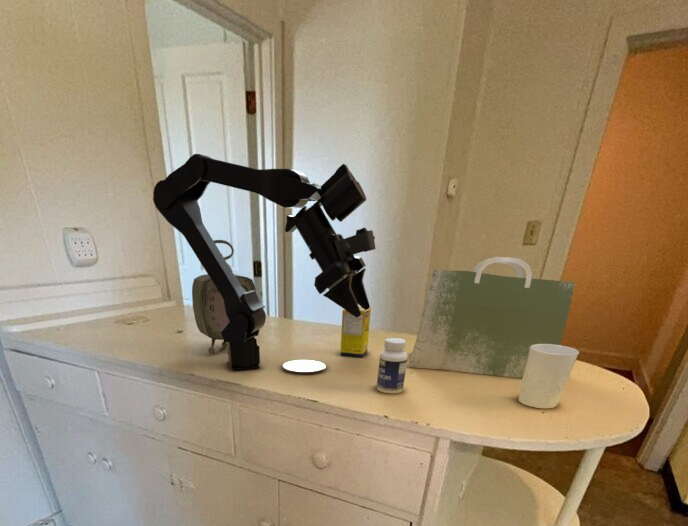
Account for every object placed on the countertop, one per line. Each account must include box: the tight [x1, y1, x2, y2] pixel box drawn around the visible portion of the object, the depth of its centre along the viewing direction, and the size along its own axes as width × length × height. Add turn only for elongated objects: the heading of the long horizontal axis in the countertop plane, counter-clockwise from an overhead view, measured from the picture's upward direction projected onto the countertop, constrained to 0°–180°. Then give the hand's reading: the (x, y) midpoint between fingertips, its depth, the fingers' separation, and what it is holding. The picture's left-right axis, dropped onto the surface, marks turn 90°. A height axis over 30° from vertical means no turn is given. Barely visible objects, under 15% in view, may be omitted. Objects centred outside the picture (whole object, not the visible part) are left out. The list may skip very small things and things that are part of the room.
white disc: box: [282, 359, 327, 376], centre depth 99 cm, size 10×10×1 cm
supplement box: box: [340, 306, 372, 358], centre depth 108 cm, size 6×6×11 cm
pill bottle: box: [376, 337, 409, 395], centre depth 84 cm, size 5×5×10 cm
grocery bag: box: [409, 256, 576, 379], centre depth 96 cm, size 32×14×23 cm, turn 73°
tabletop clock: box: [191, 239, 257, 355], centre depth 106 cm, size 14×9×25 cm, turn 120°
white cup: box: [518, 344, 580, 409], centre depth 79 cm, size 8×8×10 cm
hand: (363, 312), depth 86 cm, fingers open, 9 cm apart
